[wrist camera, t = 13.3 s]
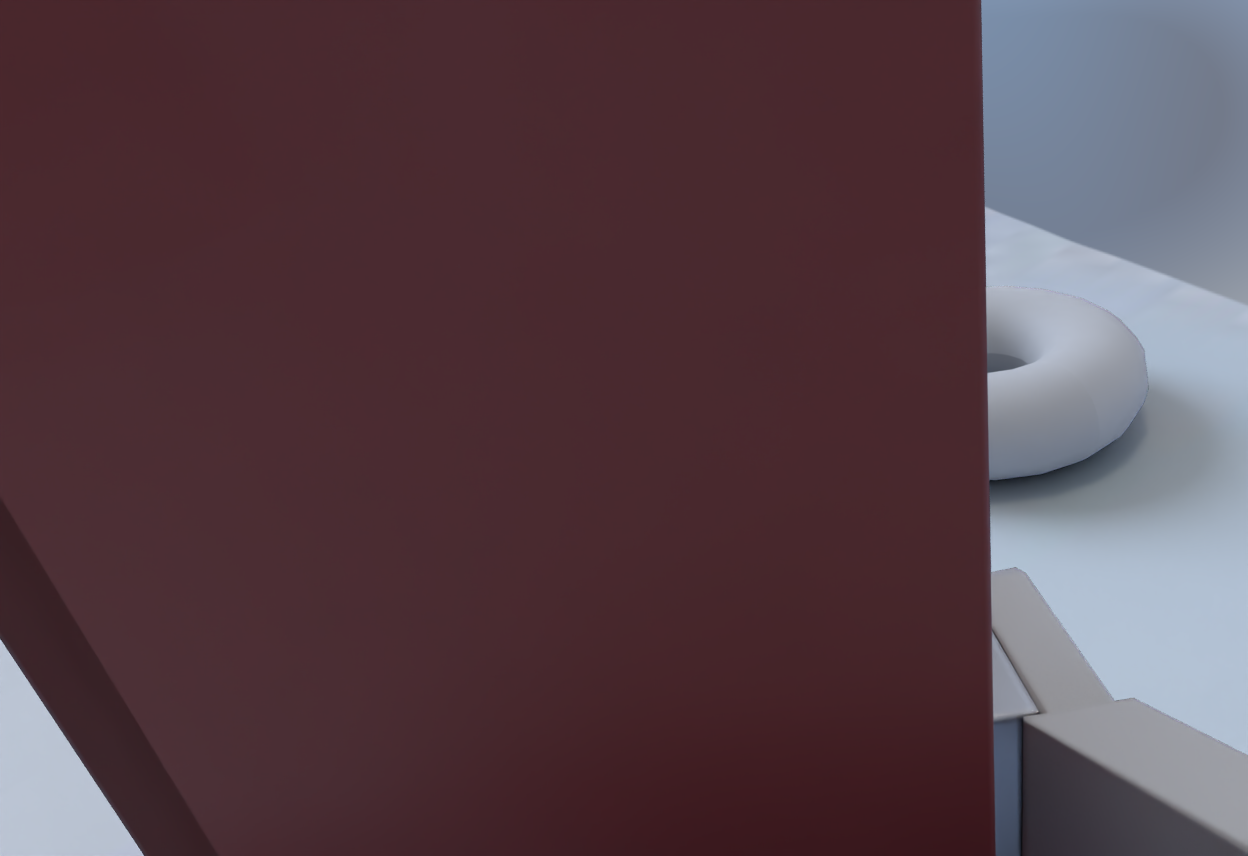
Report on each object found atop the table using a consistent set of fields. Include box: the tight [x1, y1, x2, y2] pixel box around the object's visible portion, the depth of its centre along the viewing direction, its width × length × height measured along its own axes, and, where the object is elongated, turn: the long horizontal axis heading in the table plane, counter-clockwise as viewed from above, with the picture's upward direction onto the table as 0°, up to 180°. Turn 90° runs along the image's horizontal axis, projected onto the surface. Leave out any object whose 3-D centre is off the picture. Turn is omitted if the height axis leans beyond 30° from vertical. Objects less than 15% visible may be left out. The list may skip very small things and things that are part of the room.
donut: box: [986, 286, 1149, 480], centre depth 33 cm, size 10×4×10 cm
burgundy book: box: [0, 0, 996, 856], centre depth 10 cm, size 4×10×14 cm, turn 3°
